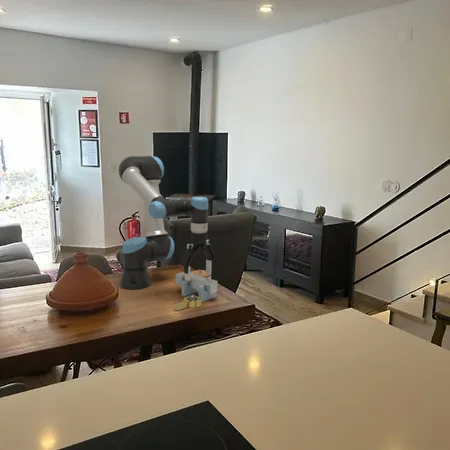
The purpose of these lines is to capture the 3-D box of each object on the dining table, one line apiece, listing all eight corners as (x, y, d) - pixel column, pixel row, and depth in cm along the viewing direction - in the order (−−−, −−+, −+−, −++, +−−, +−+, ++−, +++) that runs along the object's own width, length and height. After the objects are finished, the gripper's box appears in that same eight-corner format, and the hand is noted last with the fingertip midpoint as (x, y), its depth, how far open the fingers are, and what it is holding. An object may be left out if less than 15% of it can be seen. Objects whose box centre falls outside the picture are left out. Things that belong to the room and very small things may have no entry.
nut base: (177, 307, 191) (177, 295, 190) (192, 302, 198) (192, 290, 197) (192, 312, 185) (192, 300, 184) (206, 307, 192) (207, 295, 191)
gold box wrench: (192, 300, 196) (192, 294, 196) (204, 304, 192) (204, 298, 191) (169, 308, 187) (169, 302, 186) (182, 312, 182) (182, 306, 181)
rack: (180, 297, 204) (180, 280, 203) (194, 292, 211) (194, 276, 210) (203, 305, 194) (203, 287, 193) (217, 299, 201) (218, 283, 200)
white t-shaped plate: (175, 284, 207) (175, 273, 206) (186, 280, 212) (186, 270, 211) (208, 294, 193) (208, 283, 192) (219, 291, 198) (219, 280, 197)
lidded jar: (210, 292, 212) (210, 273, 210) (188, 291, 212) (188, 272, 210) (211, 285, 222) (211, 267, 221) (190, 284, 223) (190, 266, 221)
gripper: (184, 237, 185) (183, 285, 190) (223, 229, 204) (222, 272, 208) (172, 234, 190) (172, 280, 194) (212, 226, 209) (211, 269, 213)
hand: (198, 276), depth 201 cm, fingers open, 13 cm apart
